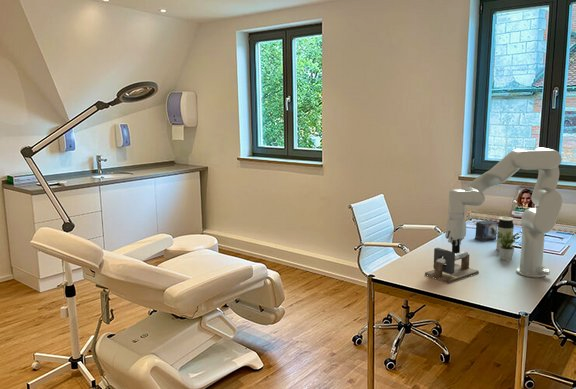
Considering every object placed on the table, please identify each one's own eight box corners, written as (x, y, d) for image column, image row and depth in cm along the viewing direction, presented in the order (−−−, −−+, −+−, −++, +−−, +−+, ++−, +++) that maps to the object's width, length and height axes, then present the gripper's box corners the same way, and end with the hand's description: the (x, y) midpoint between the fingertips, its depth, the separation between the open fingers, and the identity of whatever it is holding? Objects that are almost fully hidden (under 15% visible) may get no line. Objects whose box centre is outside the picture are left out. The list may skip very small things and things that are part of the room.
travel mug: (509, 247, 273) (511, 216, 270) (514, 252, 266) (516, 219, 262) (494, 247, 274) (496, 216, 271) (499, 251, 266) (500, 219, 263)
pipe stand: (478, 273, 235) (479, 253, 233) (448, 283, 223) (449, 263, 221) (454, 265, 247) (455, 247, 245) (424, 274, 235) (425, 255, 233)
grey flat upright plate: (454, 273, 228) (455, 252, 226) (450, 274, 226) (451, 253, 224) (436, 267, 236) (437, 247, 234) (433, 268, 234) (434, 248, 233)
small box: (481, 241, 287) (482, 223, 285) (474, 238, 293) (475, 221, 291) (496, 239, 290) (497, 222, 288) (489, 236, 296) (490, 219, 294)
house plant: (525, 264, 245) (528, 233, 242) (496, 263, 248) (498, 232, 245) (518, 256, 259) (520, 226, 256) (490, 254, 262) (492, 225, 259)
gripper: (460, 211, 238) (459, 247, 241) (440, 216, 229) (439, 253, 233) (473, 214, 231) (472, 251, 235) (453, 219, 223) (452, 257, 227)
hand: (455, 252), depth 234 cm, fingers closed
